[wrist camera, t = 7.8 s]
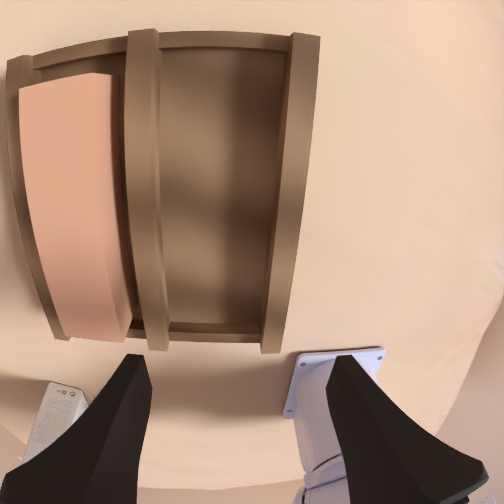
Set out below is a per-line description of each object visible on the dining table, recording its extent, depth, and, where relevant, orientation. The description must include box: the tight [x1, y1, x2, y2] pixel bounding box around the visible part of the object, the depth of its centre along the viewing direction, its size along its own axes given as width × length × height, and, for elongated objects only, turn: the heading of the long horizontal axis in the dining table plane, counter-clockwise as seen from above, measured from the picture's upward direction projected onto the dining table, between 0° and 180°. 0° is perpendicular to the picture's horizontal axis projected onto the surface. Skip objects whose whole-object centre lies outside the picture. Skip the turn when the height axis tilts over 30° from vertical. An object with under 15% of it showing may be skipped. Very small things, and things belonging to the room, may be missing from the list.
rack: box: [6, 29, 320, 354], centre depth 16 cm, size 18×16×3 cm
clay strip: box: [19, 73, 137, 343], centre depth 14 cm, size 14×4×4 cm, turn 176°
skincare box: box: [22, 382, 88, 464], centre depth 21 cm, size 6×4×12 cm
